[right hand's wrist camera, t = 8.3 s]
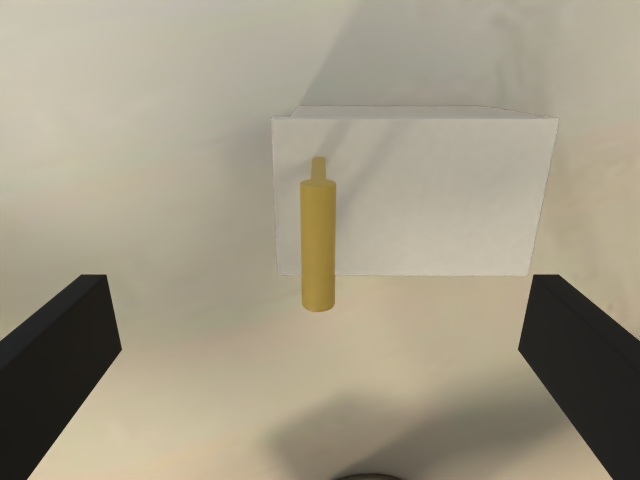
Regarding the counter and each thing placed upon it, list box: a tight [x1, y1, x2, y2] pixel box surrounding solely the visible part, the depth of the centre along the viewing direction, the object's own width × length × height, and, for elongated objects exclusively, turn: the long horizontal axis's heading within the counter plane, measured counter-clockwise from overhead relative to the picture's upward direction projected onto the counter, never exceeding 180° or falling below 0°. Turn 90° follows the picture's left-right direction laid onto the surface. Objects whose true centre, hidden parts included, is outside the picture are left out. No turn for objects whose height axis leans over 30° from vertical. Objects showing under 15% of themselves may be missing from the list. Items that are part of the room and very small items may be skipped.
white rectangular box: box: [271, 117, 560, 312], centre depth 21 cm, size 16×10×9 cm, turn 90°
